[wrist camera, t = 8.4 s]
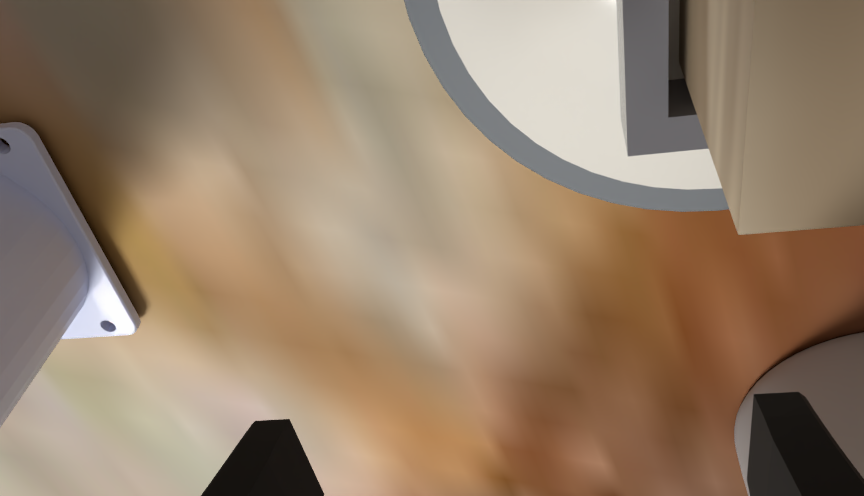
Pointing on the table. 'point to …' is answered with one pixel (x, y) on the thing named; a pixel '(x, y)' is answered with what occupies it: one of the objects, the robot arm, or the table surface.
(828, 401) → the mug
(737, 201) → the wooden plank block
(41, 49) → the table surface
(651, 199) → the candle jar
